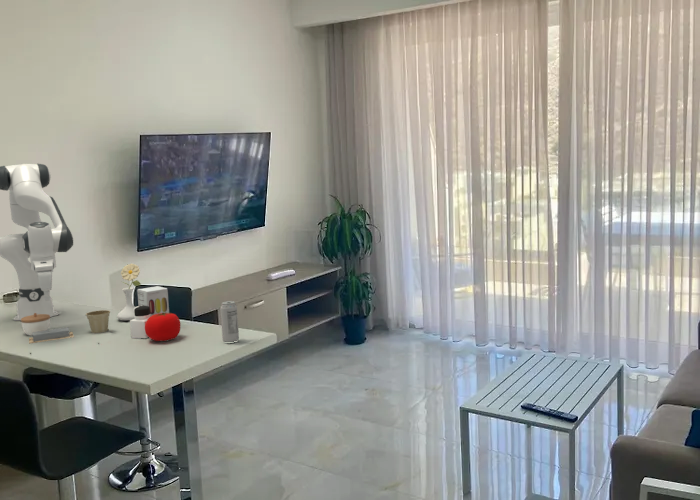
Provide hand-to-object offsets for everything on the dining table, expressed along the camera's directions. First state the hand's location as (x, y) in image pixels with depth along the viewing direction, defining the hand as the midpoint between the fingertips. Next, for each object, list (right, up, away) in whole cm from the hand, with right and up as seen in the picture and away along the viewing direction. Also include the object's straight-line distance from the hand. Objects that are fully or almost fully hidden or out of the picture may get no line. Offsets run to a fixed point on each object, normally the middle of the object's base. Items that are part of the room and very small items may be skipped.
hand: (47, 298), depth 261 cm
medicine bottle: (+38, -15, +1) cm, 41 cm away
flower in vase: (+23, -12, +32) cm, 41 cm away
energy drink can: (+74, -15, -13) cm, 77 cm away
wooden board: (+1, -16, +2) cm, 17 cm away
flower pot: (+17, -15, +9) cm, 25 cm away
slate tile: (+1, -15, +2) cm, 16 cm away
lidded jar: (-9, -16, +10) cm, 21 cm away
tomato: (+47, -16, -5) cm, 50 cm away
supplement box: (+39, -14, +13) cm, 43 cm away
